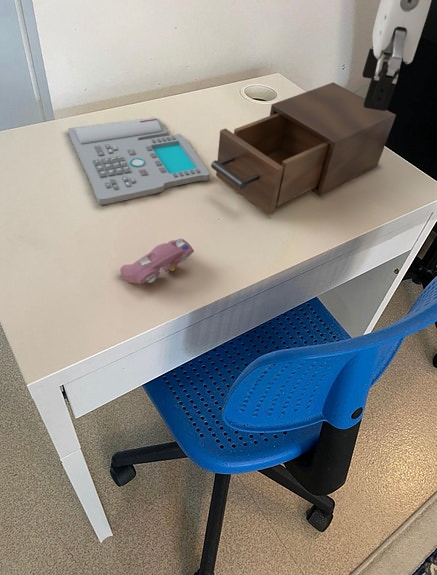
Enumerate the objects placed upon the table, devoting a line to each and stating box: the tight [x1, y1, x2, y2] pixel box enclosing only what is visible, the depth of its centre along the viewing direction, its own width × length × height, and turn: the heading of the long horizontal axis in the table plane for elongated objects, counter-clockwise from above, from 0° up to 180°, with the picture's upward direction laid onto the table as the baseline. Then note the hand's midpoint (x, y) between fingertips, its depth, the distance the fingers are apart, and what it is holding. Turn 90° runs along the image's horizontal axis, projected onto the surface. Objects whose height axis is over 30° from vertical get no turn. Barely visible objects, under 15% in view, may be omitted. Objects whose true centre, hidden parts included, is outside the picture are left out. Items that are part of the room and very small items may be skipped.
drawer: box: [210, 113, 331, 217], centre depth 83 cm, size 20×13×9 cm
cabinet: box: [269, 82, 397, 197], centre depth 90 cm, size 17×15×11 cm
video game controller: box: [119, 238, 195, 284], centre depth 69 cm, size 10×5×7 cm, turn 132°
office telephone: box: [67, 116, 210, 206], centre depth 89 cm, size 23×3×20 cm
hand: (373, 92), depth 71 cm, fingers open, 9 cm apart
